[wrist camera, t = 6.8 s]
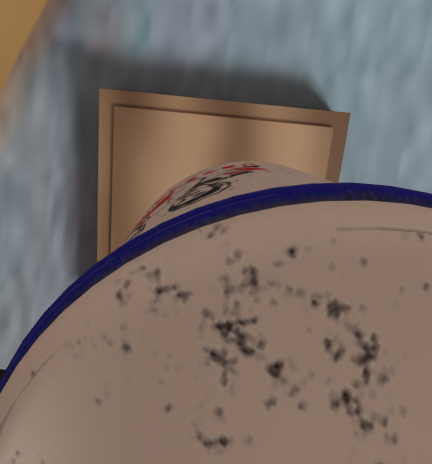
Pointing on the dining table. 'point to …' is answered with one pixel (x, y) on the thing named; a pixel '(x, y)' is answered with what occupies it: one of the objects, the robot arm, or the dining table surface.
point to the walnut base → (197, 148)
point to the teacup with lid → (239, 332)
